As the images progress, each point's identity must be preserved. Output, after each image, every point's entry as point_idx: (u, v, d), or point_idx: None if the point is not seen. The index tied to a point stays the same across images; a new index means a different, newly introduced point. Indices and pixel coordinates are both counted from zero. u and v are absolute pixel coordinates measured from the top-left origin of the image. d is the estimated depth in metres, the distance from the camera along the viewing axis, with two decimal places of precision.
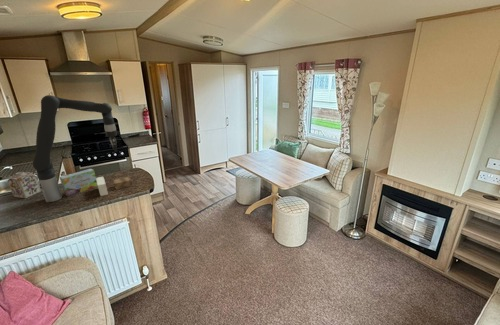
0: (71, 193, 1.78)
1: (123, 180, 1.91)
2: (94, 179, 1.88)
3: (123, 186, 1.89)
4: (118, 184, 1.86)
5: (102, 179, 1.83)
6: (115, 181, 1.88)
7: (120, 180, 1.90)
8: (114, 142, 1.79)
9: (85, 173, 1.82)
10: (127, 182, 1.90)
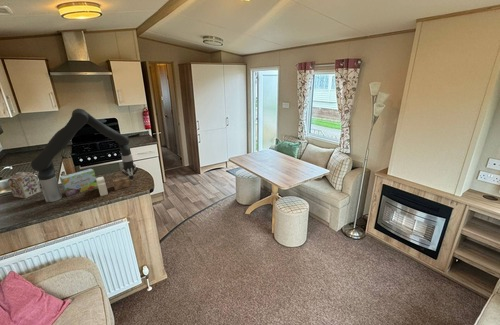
0: (71, 193, 1.78)
1: (122, 180, 1.90)
2: (94, 179, 1.88)
3: (122, 186, 1.88)
4: (117, 184, 1.86)
5: (102, 179, 1.83)
6: (114, 181, 1.88)
7: (119, 180, 1.89)
8: None
9: (85, 173, 1.82)
10: (126, 182, 1.89)
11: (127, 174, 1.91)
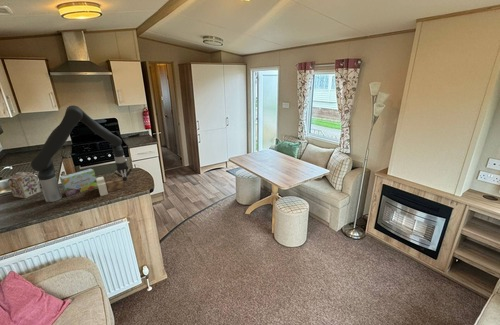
0: (71, 193, 1.78)
1: (116, 182, 1.87)
2: (94, 179, 1.88)
3: (115, 188, 1.86)
4: (110, 186, 1.83)
5: (102, 179, 1.83)
6: (107, 183, 1.85)
7: (112, 182, 1.87)
8: None
9: (85, 173, 1.82)
10: (120, 184, 1.86)
11: (120, 175, 1.88)
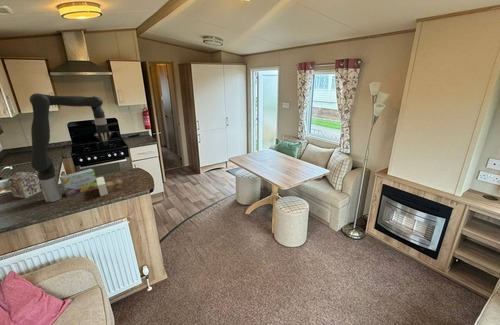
0: (71, 193, 1.78)
1: (115, 182, 1.87)
2: (94, 179, 1.88)
3: (115, 188, 1.85)
4: (110, 186, 1.82)
5: (102, 179, 1.83)
6: (107, 183, 1.84)
7: (112, 182, 1.86)
8: None
9: (85, 173, 1.82)
10: (119, 184, 1.86)
11: (101, 139, 1.81)
